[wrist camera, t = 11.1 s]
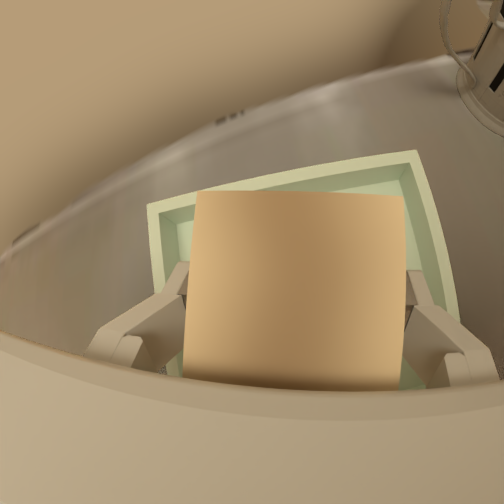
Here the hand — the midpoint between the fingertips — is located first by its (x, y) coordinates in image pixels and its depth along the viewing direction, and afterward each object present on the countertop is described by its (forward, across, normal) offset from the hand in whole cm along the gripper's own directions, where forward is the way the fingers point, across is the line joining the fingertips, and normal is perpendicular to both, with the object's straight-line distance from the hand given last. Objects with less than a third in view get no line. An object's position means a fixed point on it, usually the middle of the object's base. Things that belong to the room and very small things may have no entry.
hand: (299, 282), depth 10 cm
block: (+3, 0, +4) cm, 4 cm away
